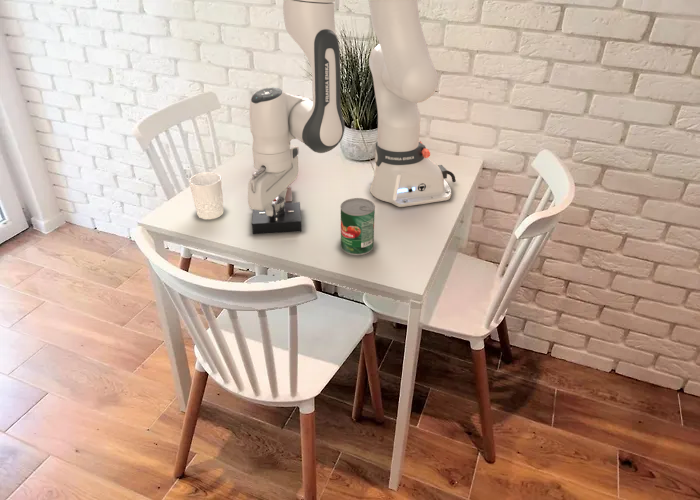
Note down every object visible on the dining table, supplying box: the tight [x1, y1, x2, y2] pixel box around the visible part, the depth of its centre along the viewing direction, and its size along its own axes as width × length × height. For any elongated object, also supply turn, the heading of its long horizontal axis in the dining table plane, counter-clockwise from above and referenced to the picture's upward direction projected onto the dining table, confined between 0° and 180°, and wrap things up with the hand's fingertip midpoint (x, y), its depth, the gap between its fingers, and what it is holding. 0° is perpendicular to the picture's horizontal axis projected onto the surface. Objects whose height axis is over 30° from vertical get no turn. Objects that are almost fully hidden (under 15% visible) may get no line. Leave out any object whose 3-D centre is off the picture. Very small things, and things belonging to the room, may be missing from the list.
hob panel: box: [251, 201, 303, 235], centre depth 142 cm, size 12×10×3 cm
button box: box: [285, 187, 293, 203], centre depth 152 cm, size 10×8×4 cm
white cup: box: [188, 171, 224, 220], centre depth 144 cm, size 8×8×10 cm
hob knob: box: [272, 196, 285, 217], centre depth 140 cm, size 4×4×4 cm
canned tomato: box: [340, 197, 376, 256], centre depth 131 cm, size 8×8×11 cm
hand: (276, 209), depth 141 cm, fingers closed on hob knob, 4 cm apart
